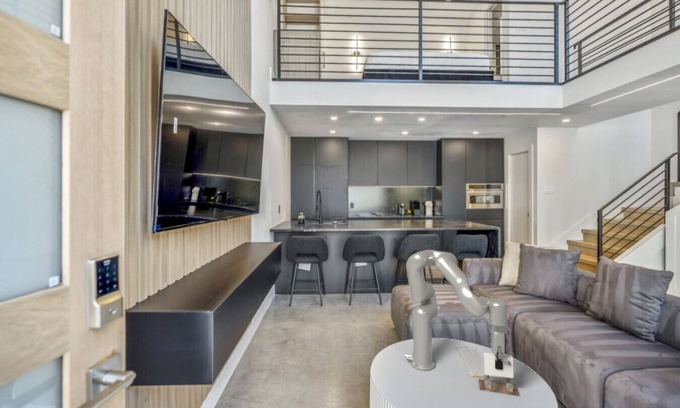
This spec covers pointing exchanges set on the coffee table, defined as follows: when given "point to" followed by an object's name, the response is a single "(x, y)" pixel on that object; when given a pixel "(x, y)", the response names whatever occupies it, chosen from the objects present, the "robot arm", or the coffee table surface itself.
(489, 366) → the cabinet door
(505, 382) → the hinge mount
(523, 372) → the coffee table surface
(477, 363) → the baseboard molding
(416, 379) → the coffee table surface
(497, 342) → the robot arm
